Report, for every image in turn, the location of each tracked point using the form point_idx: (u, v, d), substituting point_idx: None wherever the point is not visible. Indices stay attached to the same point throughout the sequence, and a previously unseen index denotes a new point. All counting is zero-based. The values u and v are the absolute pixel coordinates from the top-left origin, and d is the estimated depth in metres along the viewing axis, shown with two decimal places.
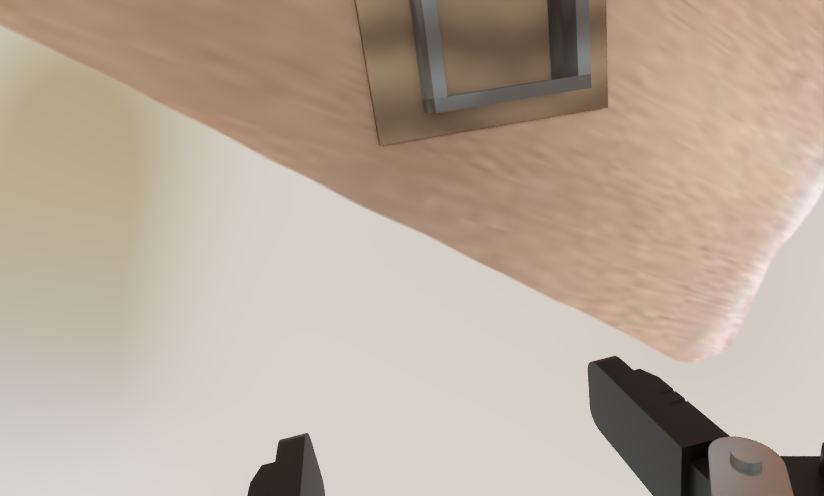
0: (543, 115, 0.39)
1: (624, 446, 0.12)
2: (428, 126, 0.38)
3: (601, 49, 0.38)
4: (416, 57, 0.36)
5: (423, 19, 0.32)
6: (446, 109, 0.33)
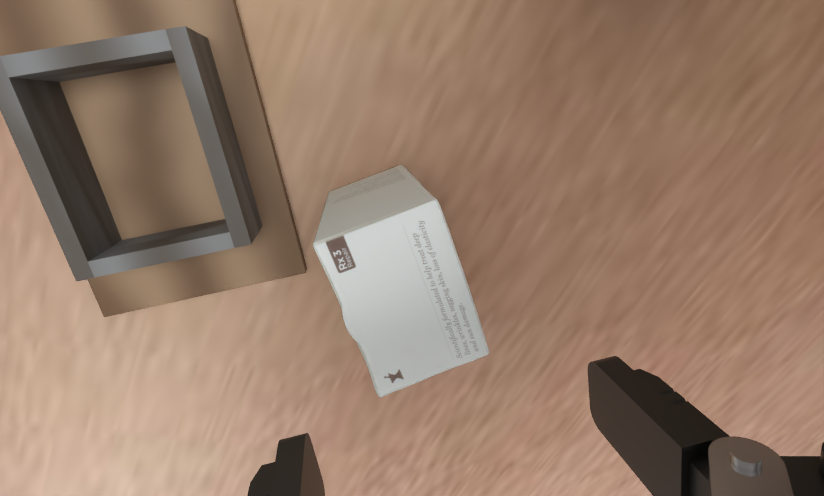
0: None
1: (624, 446, 0.12)
2: None
3: (171, 295, 0.32)
4: None
5: None
6: None
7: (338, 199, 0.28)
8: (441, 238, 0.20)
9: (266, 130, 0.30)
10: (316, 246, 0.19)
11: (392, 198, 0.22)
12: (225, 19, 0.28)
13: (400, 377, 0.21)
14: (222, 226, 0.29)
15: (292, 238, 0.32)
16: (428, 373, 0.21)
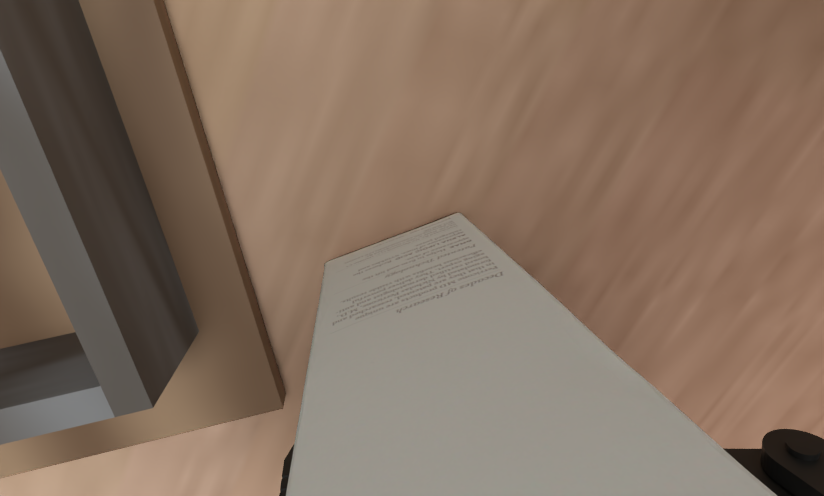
0: None
1: None
2: None
3: (30, 459, 0.17)
4: None
5: None
6: None
7: (345, 308, 0.13)
8: None
9: (199, 152, 0.15)
10: None
11: (521, 390, 0.07)
12: None
13: None
14: None
15: (257, 351, 0.17)
16: None
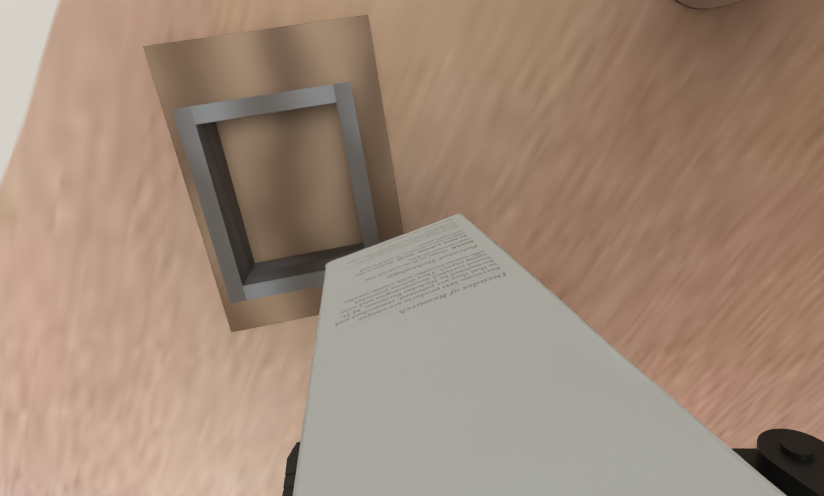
0: (212, 259, 0.33)
1: None
2: None
3: (293, 313, 0.35)
4: None
5: (284, 92, 0.26)
6: (178, 123, 0.26)
7: (347, 309, 0.13)
8: None
9: (391, 167, 0.33)
10: None
11: (527, 391, 0.07)
12: (365, 68, 0.31)
13: None
14: None
15: None
16: None
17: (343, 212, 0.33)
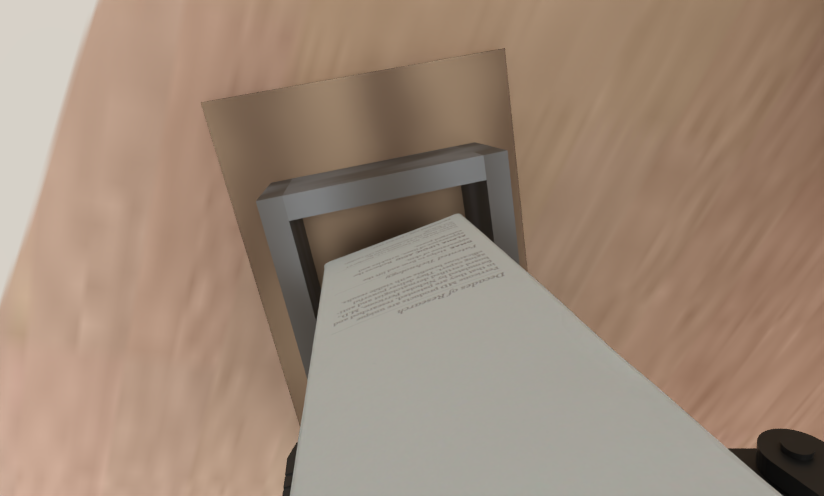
0: (288, 374, 0.25)
1: None
2: (247, 191, 0.22)
3: None
4: (358, 164, 0.22)
5: (414, 168, 0.18)
6: (264, 220, 0.18)
7: (346, 309, 0.13)
8: None
9: (523, 245, 0.25)
10: None
11: (524, 391, 0.07)
12: (498, 119, 0.23)
13: None
14: None
15: None
16: None
17: None
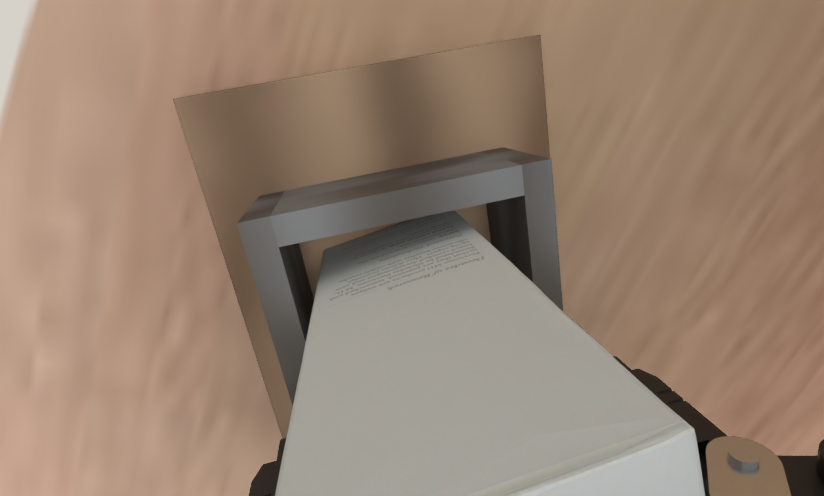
0: (281, 418, 0.21)
1: None
2: (231, 205, 0.18)
3: None
4: (364, 173, 0.18)
5: (435, 181, 0.15)
6: (248, 247, 0.14)
7: (341, 287, 0.14)
8: None
9: None
10: None
11: (489, 346, 0.08)
12: (530, 120, 0.19)
13: None
14: None
15: None
16: None
17: None
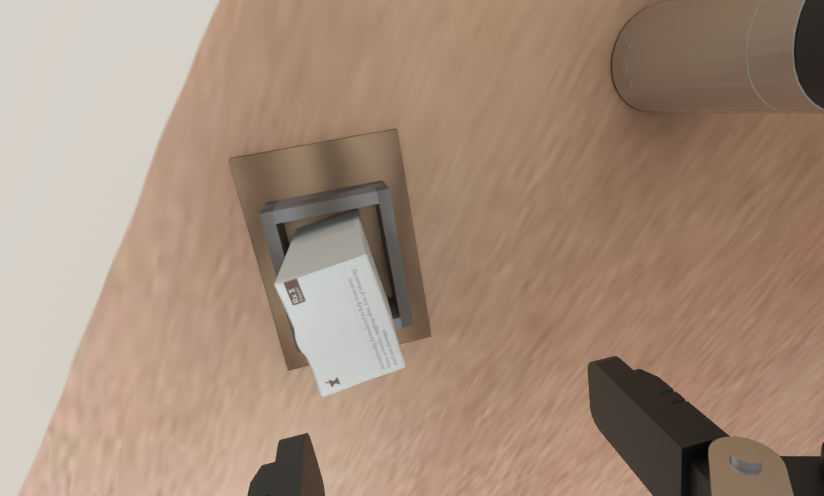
0: (274, 314, 0.42)
1: (624, 446, 0.12)
2: (252, 207, 0.39)
3: None
4: (315, 192, 0.39)
5: (341, 197, 0.35)
6: (263, 223, 0.35)
7: (301, 239, 0.35)
8: (369, 281, 0.27)
9: (414, 239, 0.42)
10: (276, 285, 0.26)
11: (338, 247, 0.29)
12: (395, 167, 0.40)
13: (338, 383, 0.28)
14: None
15: (424, 312, 0.44)
16: (359, 380, 0.28)
17: None
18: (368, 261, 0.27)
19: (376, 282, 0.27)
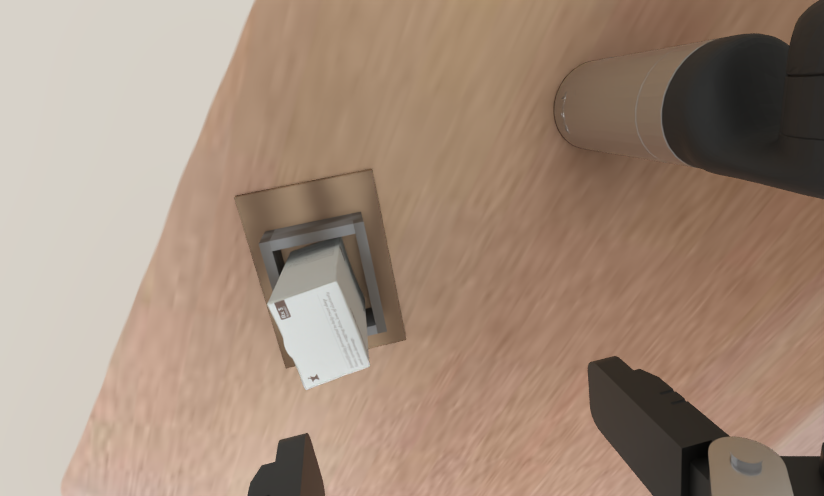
0: (274, 322, 0.50)
1: (624, 446, 0.12)
2: (254, 235, 0.47)
3: None
4: (305, 222, 0.48)
5: (324, 229, 0.44)
6: (262, 251, 0.43)
7: (292, 264, 0.43)
8: (339, 301, 0.35)
9: (389, 259, 0.50)
10: (269, 305, 0.35)
11: (317, 273, 0.38)
12: (371, 201, 0.48)
13: (317, 378, 0.37)
14: (366, 318, 0.49)
15: (399, 319, 0.53)
16: (334, 376, 0.37)
17: None
18: (338, 286, 0.35)
19: (345, 302, 0.35)
